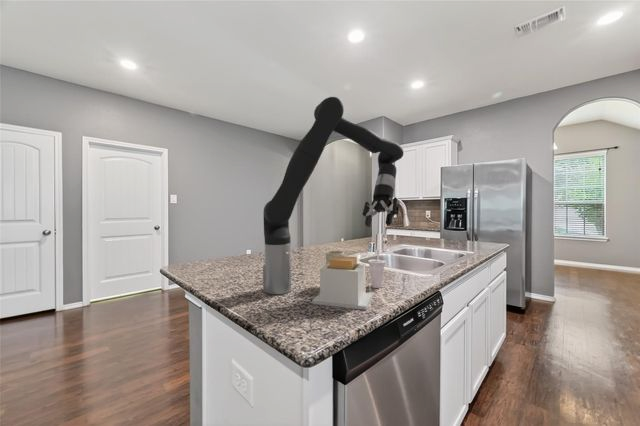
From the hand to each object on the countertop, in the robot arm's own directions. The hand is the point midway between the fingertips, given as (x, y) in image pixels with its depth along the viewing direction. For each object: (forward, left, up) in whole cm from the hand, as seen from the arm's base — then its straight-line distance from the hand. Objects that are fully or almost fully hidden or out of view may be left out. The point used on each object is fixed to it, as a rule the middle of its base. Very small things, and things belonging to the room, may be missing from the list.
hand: (377, 225), depth 101 cm
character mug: (-16, -3, -23) cm, 28 cm away
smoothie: (-1, +1, -23) cm, 23 cm away
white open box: (-9, -17, -23) cm, 30 cm away
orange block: (-9, -17, -17) cm, 26 cm away
